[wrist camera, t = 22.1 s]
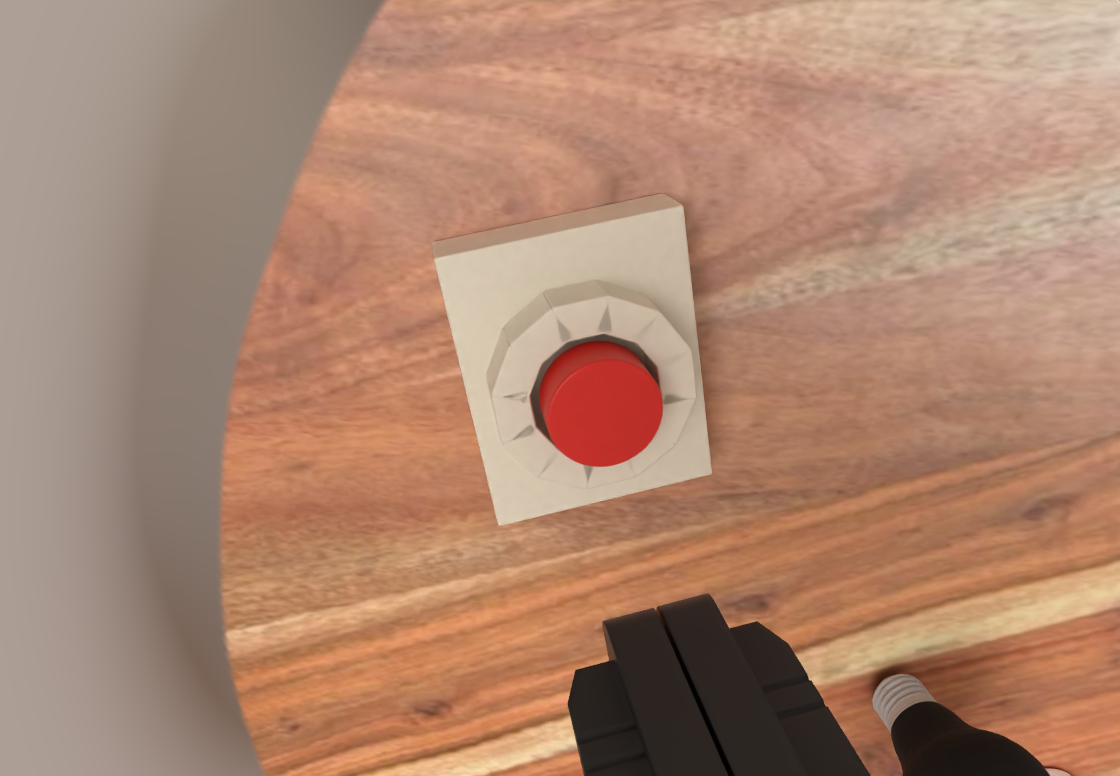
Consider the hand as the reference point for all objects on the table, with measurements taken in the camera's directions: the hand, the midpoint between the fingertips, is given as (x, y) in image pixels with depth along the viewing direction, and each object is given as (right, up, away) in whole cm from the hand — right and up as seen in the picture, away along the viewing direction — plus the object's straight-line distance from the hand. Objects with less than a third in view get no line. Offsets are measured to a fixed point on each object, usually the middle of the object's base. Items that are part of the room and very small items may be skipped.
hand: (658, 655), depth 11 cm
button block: (-1, +5, +18) cm, 19 cm away
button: (0, +4, +15) cm, 16 cm away
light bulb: (+14, -10, +28) cm, 33 cm away
